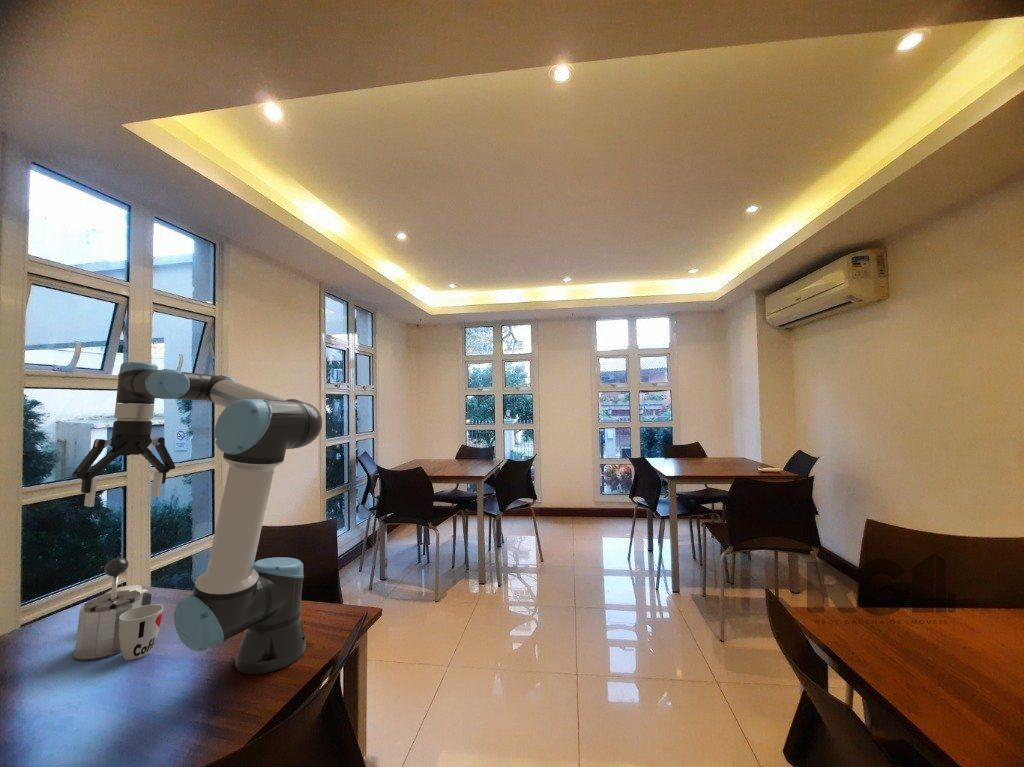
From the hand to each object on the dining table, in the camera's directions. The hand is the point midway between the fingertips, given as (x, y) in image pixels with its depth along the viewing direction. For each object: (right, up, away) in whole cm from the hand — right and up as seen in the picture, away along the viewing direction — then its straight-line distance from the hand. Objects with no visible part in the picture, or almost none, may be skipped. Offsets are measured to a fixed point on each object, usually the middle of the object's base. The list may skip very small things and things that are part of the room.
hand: (124, 501), depth 103 cm
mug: (-9, -37, +8) cm, 39 cm away
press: (-1, -36, -3) cm, 37 cm away
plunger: (-1, -35, -3) cm, 35 cm away
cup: (+9, -37, -5) cm, 38 cm away
